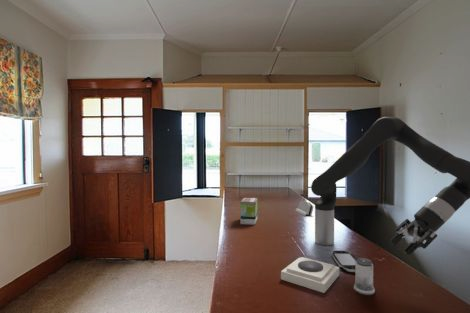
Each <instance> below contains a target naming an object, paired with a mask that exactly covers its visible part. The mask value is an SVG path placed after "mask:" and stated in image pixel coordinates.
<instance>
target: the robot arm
mask: <svg viewBox="0 0 470 313" xmlns="http://www.w3.org/2000/svg"><path fill="white" fill-rule="evenodd" d="M387 141H396V142H398V143H400V144H403V145H404V146H405V147H407V148H408V149H410V150H411V151H412V152H413V153H414V154H415V155H416V156H417V157H418V159H420V160H421V161H423V162H424V163H425V164H427V165H428V166H429V167H432V168H433V169H434V170H436V171H437V172H439V173H441V174H450V175H451V176H453V177H454V178H455V179H454V180H453V181H452V182H451V183H450V184H448V186H444V187H443V188H442V189H441V190H440V191H439V192H438V193H437V194H436V195H435V196H433V197H432V198H431V199H430V200H428V201H426V203H425V204H424V205H423V206H421V208H420V209H419V210H417V212H415V214H413V218H414V219H413V221H410V220H409V218H406V219H404V220H403V221H402V222H401V223H400V224H399V225H398V226H397V227H395V229H394V231H395V233H396V234H395V235H393V236H392V237H391V238H390V240H389V243H390V244H391V245H392V246H396V245H398V243H399V242H401V241H402V239H404V238H406V237H408V238H410V237H413V238H412V241H411V242H409V243H408V244H407V245H406V247H404V248H403V252H404V253H405V254H406V255H407V256H410V255H411V254H413V253H414V252H415V251H416V250H417V249H420V248H422V249H424V250H425V249H426V248H427V247H428V246H429V245H431V243H432V242H434V240H436V238H437V237H438V234H436V232H437V231H438V230H439V229H440V228H441V227H442V226H443V225H445V223H447V222H448V221H449V219H451V217H453V215H454V214H455V213H456V212H457V211H458V210H460V208H461V207H462V206H463V205H464V204H465V202H467V201H468V200H469V199H470V161H469V160H467V159H463V158H461V157H457V156H455V155H454V154H452V153H450V152H449V151H448V150H445V149H444V148H442V147H440V146H439V145H437V144H435V143H434V142H432V141H430V140H429V139H427V138H425V137H423V136H422V135H421V134H420V133H418V132H417V131H415V130H414V129H413V128H411V127H410V126H409V125H408V124H407V123H405V122H404V121H403V120H402V119H401V118H399V117H395V116H383V117H380V118H378V119H377V120H376V121H374V122H373V124H372V125H371V126H370V127H369V128H368V130H367V131H366V132H365V133H364V134H363V135H362V137H361V138H359V140H357V141H356V142H355V143H354V144H353V145H352V146H351V147H349V149H347V150H346V151H345V152H344V153H343V154H341V155H340V157H339V158H337V160H336V161H334V163H333V164H331V166H329V167H328V168H327V169H326V170H325V171H324V172H322V173H321V174H319V175H318V176H317V177H316V178H315V179H314V180H312V182H311V186H310V188H311V192H312V193H313V195H315V196H319V199H318V200H317V201H316V202H314V242H315V244H318V245H320V246H333V245H334V244H335V206H336V204H337V203H336V202H337V182H338V181H339V182H340V181H341V180H343V179H345V178H347V177H348V176H351V175H352V174H354V173H355V172H357V171H359V169H361V168H362V167H363V166H364V165H365V164H366V162H367V161H368V160H369V158H370V156H371V155H372V153H373V151H375V150H376V149H377V148H378V147H379V146H381V145H382V144H383V143H385V142H387Z"/></svg>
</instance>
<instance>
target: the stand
mask: <svg viewBox="0 0 470 313" xmlns="http://www.w3.org/2000/svg"><path fill="white" fill-rule="evenodd" d="M339 276H340V267H339V266H335V265H334V264H331V263H327V262H323V261H320V260H316V259H311V258H308V257H303V256H300V257H298V258H297V259H295V260H294V261H293V262H292V263H290V264H288V265H286V267H284V268H283V269H282V270H281V271H280V280H282V281H286V282H288V283H291V284H294V285H298V286H301V287H305V288H308V289H310V290H314V291H316V292H319V293H322V294H324V293H326V292H327V290H328V289H329V288H330V287H331V285H333V283H334V282H335V281H336V280H337V278H338V277H339Z"/></svg>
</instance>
